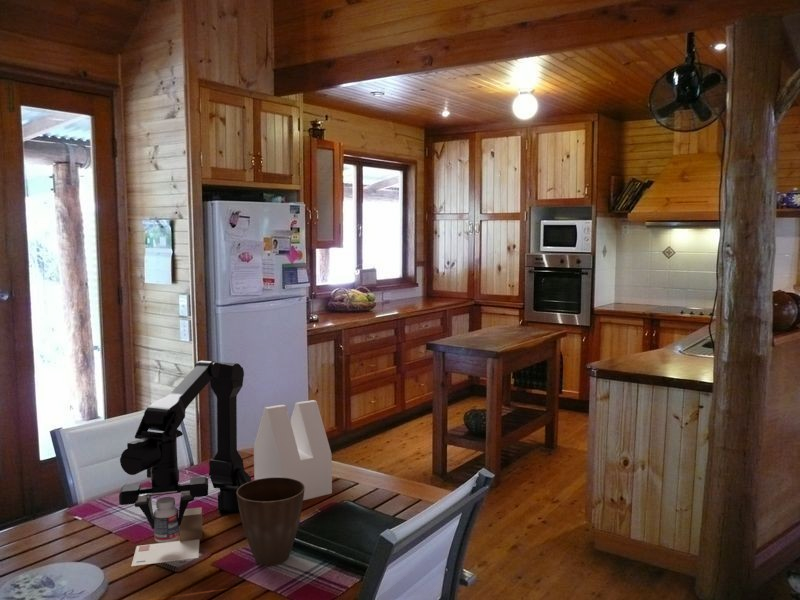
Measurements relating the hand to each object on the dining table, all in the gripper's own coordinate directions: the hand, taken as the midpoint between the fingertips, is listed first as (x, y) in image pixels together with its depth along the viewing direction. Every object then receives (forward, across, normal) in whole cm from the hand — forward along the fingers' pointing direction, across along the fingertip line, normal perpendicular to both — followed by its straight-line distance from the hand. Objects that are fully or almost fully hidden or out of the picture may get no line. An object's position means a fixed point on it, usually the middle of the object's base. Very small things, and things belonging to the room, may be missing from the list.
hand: (166, 526), depth 147 cm
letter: (+6, 0, 0) cm, 6 cm away
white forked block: (+7, -32, -32) cm, 46 cm away
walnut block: (+6, -5, -7) cm, 10 cm away
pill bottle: (+3, 0, 0) cm, 3 cm away
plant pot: (+6, -23, +9) cm, 25 cm away
